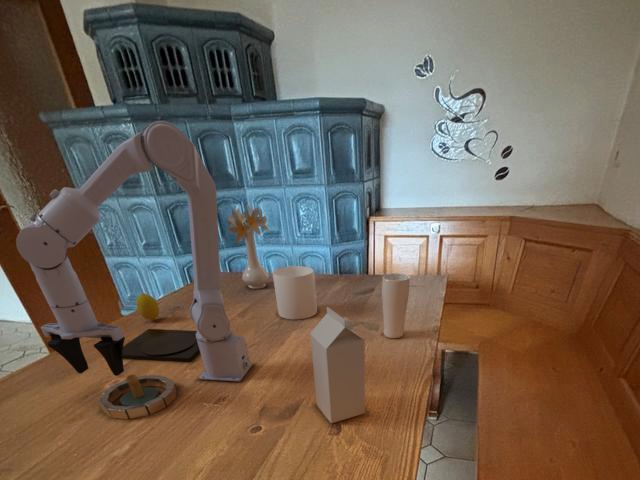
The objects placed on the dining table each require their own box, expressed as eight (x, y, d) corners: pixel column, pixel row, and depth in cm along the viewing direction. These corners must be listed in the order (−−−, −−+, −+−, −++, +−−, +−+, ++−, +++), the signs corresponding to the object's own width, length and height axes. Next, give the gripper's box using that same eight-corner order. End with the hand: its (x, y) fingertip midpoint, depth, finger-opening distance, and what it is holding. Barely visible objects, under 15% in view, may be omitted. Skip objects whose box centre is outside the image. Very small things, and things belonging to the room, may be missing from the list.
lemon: (155, 325, 110) (145, 297, 105) (138, 323, 111) (127, 295, 106) (166, 318, 114) (157, 290, 109) (150, 316, 115) (140, 289, 110)
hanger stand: (166, 391, 80) (157, 367, 77) (147, 410, 75) (136, 385, 71) (135, 390, 81) (125, 366, 78) (114, 408, 75) (102, 383, 72)
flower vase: (238, 296, 130) (221, 212, 115) (241, 280, 144) (226, 204, 129) (277, 293, 132) (265, 210, 117) (276, 278, 146) (265, 202, 131)
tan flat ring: (188, 385, 82) (185, 376, 81) (153, 421, 72) (149, 412, 71) (130, 381, 84) (126, 373, 83) (88, 416, 73) (83, 407, 72)
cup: (324, 310, 118) (321, 269, 111) (300, 322, 110) (295, 279, 103) (295, 303, 123) (291, 264, 116) (270, 314, 115) (263, 273, 108)
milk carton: (331, 424, 70) (324, 324, 59) (316, 405, 75) (307, 310, 64) (365, 414, 73) (365, 316, 61) (348, 396, 78) (345, 303, 66)
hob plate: (218, 335, 104) (217, 330, 103) (190, 362, 91) (188, 357, 90) (150, 332, 106) (148, 327, 105) (113, 358, 93) (110, 353, 92)
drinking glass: (377, 338, 101) (378, 279, 92) (385, 328, 106) (387, 271, 97) (401, 341, 99) (405, 282, 90) (409, 332, 104) (413, 274, 95)
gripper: (12, 308, 64) (52, 380, 72) (91, 312, 63) (122, 384, 71) (45, 295, 70) (78, 363, 78) (118, 298, 68) (144, 366, 76)
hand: (101, 372), depth 75 cm, fingers open, 7 cm apart
